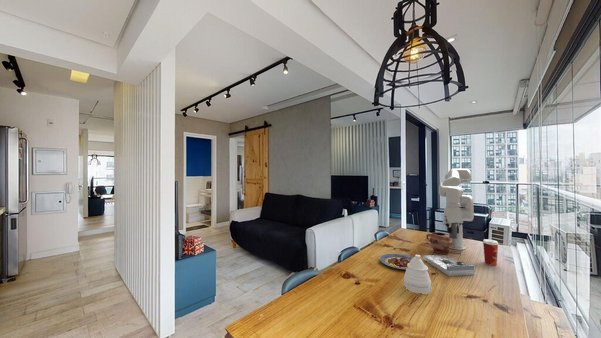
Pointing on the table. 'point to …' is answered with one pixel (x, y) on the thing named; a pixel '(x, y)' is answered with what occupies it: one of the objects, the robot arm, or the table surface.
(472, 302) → the table surface
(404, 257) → the ceramic plate
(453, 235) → the gray cylinder
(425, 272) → the honey pot
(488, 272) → the table surface
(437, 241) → the decorative planter
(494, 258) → the coffee cup
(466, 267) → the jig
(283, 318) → the table surface
